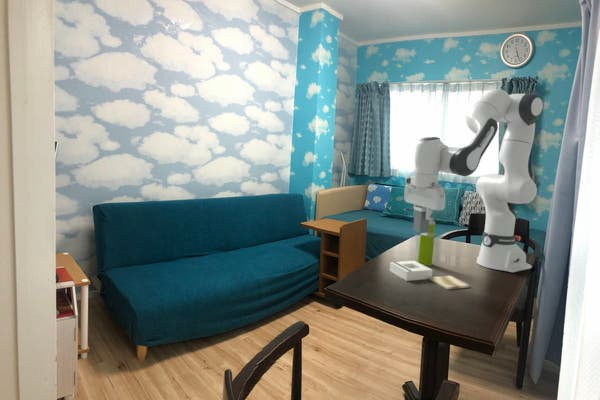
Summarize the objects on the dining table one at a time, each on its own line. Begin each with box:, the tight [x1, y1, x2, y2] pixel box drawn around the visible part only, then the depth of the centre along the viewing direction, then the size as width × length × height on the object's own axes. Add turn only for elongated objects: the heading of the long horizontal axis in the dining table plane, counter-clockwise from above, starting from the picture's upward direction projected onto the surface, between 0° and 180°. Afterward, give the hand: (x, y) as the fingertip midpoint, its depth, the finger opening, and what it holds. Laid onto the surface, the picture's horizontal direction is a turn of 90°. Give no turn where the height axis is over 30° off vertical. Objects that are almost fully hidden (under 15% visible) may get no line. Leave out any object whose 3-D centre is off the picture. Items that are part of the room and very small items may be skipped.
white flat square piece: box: [389, 260, 433, 282], centre depth 146 cm, size 11×11×4 cm
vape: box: [417, 217, 436, 267], centre depth 160 cm, size 4×6×20 cm, turn 49°
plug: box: [412, 206, 430, 234], centre depth 142 cm, size 4×4×9 cm
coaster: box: [428, 275, 471, 290], centre depth 139 cm, size 10×10×1 cm
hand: (422, 218), depth 142 cm, fingers closed on plug, 4 cm apart
